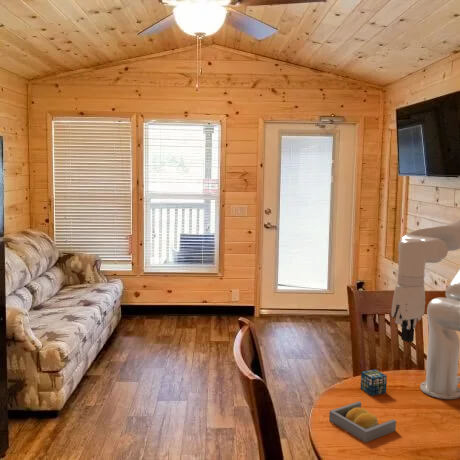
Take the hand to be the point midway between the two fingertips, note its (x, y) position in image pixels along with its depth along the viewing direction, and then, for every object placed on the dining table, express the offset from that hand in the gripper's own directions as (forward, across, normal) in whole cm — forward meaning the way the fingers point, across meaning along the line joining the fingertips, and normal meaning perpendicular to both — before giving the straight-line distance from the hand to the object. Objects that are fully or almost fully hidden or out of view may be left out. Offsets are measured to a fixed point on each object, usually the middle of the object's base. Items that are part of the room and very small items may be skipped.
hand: (407, 340), depth 153 cm
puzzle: (+22, -3, -14) cm, 27 cm away
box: (+22, +17, 0) cm, 28 cm away
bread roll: (+23, +17, -1) cm, 28 cm away
